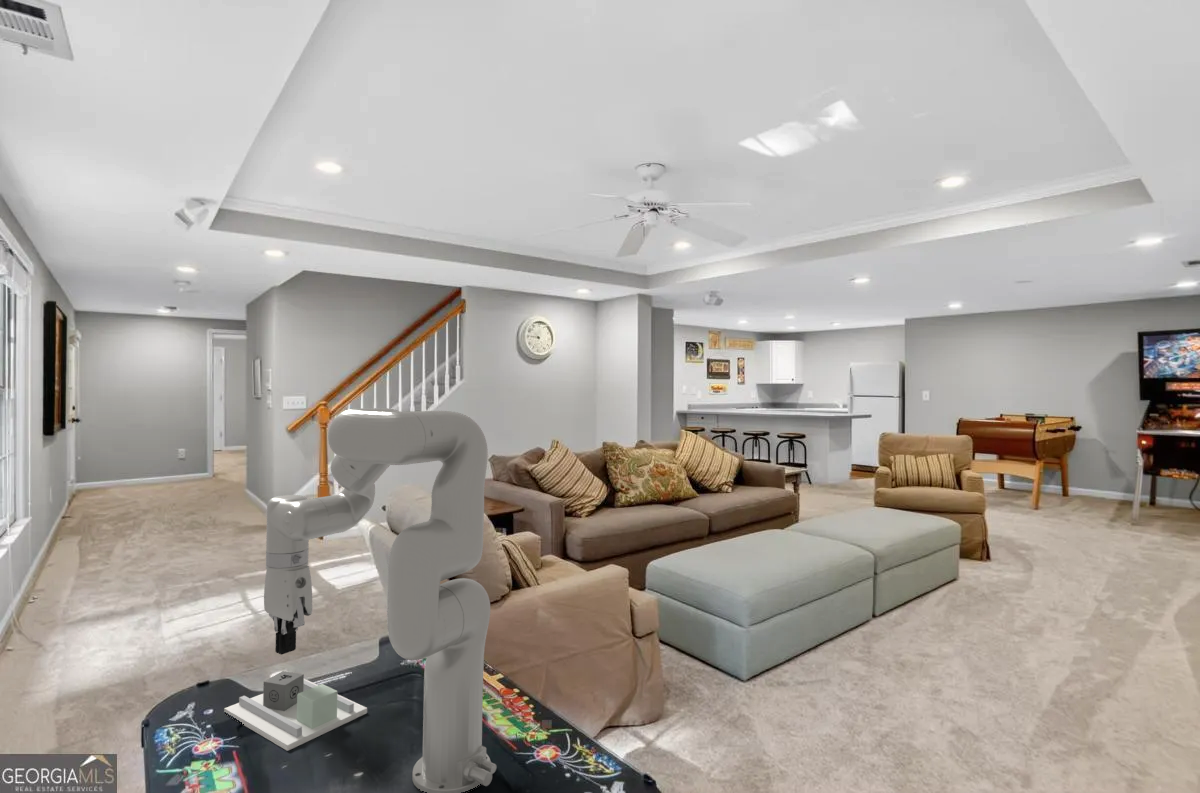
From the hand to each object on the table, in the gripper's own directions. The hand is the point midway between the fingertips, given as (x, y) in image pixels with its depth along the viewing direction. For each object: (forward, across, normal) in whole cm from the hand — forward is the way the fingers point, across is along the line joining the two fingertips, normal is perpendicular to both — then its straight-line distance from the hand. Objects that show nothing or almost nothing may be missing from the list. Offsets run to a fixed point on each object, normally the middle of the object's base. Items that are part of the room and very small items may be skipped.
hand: (285, 651), depth 123 cm
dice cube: (+10, 0, 0) cm, 10 cm away
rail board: (+11, -4, 0) cm, 12 cm away
